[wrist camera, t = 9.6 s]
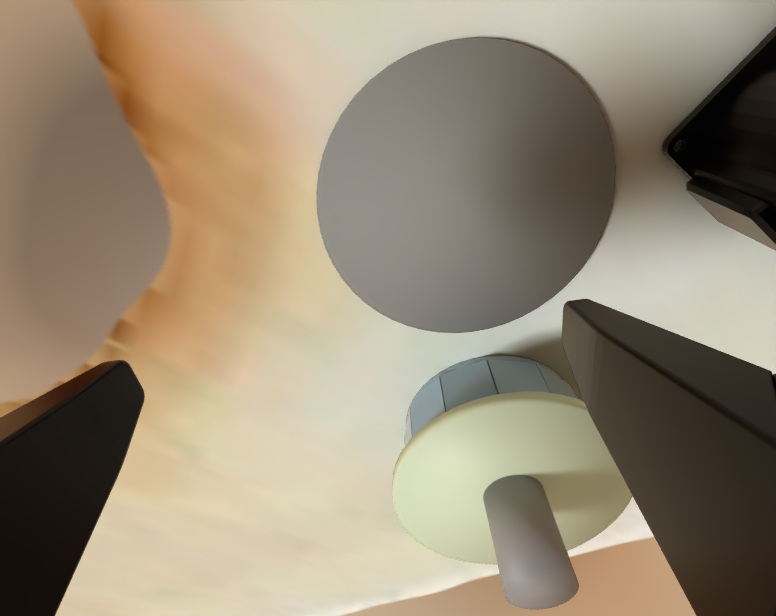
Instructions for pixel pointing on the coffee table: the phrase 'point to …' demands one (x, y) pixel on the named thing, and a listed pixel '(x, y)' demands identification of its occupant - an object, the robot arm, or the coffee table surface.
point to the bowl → (480, 386)
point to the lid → (511, 490)
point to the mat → (465, 185)
